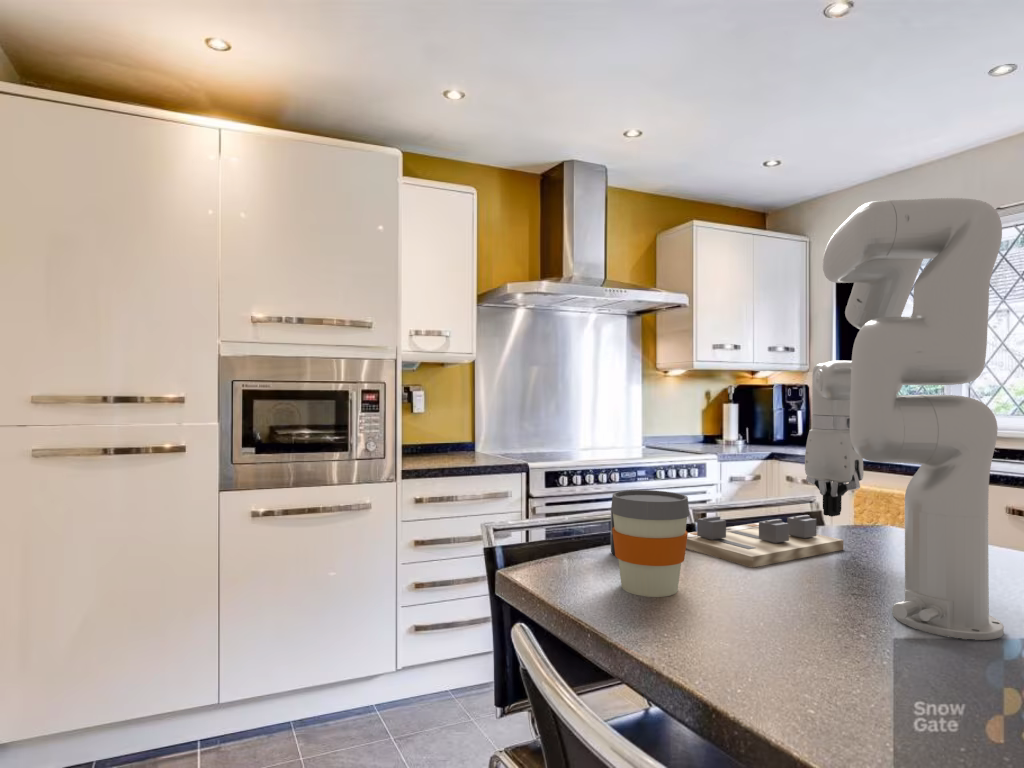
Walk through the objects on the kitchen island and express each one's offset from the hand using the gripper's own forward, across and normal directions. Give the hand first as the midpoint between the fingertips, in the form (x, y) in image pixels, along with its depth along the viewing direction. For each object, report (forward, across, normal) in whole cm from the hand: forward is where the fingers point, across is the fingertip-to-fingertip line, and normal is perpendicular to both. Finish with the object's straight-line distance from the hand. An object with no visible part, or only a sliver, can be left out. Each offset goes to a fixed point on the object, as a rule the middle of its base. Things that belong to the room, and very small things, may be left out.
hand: (831, 514), depth 125 cm
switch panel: (+8, +10, +10) cm, 16 cm away
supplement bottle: (+8, +18, +38) cm, 42 cm away
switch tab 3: (+5, +6, 0) cm, 8 cm away
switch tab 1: (+5, +14, +18) cm, 24 cm away
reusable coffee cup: (+7, 0, +48) cm, 49 cm away
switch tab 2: (+5, +6, +10) cm, 13 cm away
